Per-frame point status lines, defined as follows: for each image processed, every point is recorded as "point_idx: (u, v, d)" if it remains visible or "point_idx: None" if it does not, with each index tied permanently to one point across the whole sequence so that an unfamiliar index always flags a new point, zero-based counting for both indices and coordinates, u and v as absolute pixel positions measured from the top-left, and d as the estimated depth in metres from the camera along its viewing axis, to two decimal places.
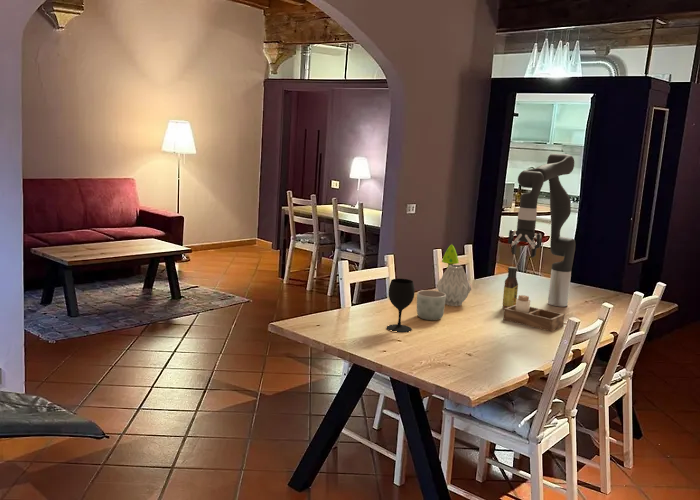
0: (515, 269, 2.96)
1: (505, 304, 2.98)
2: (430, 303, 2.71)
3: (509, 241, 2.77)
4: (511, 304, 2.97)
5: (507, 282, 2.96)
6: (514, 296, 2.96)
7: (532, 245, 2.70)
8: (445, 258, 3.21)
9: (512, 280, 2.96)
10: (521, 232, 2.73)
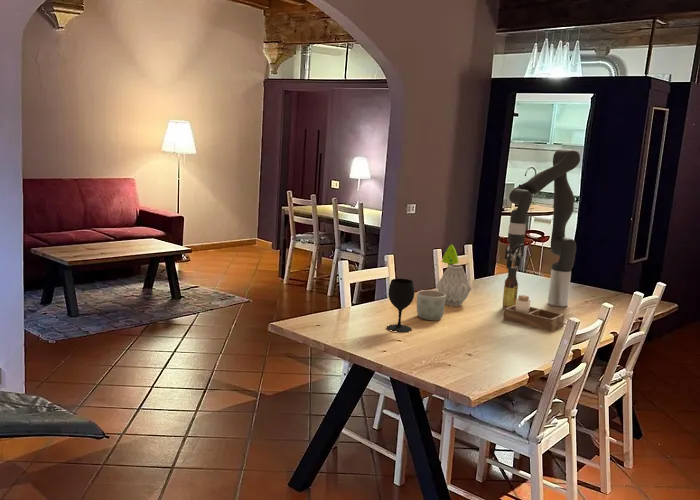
0: (515, 269, 2.96)
1: (505, 304, 2.98)
2: (430, 303, 2.71)
3: (510, 257, 2.90)
4: (511, 304, 2.97)
5: (507, 282, 2.96)
6: (514, 296, 2.96)
7: (520, 255, 2.98)
8: (445, 258, 3.21)
9: (512, 280, 2.96)
10: (516, 246, 2.93)
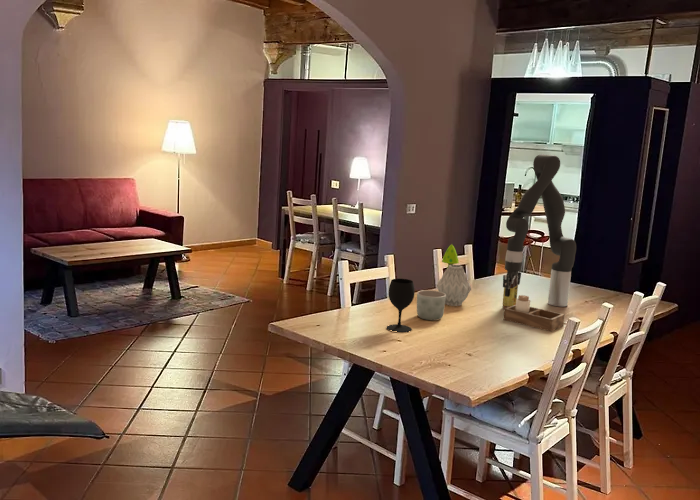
0: None
1: (505, 304, 2.98)
2: (430, 303, 2.71)
3: (508, 286, 2.93)
4: (511, 304, 2.97)
5: None
6: (514, 296, 2.96)
7: None
8: (445, 258, 3.21)
9: None
10: (513, 273, 2.96)
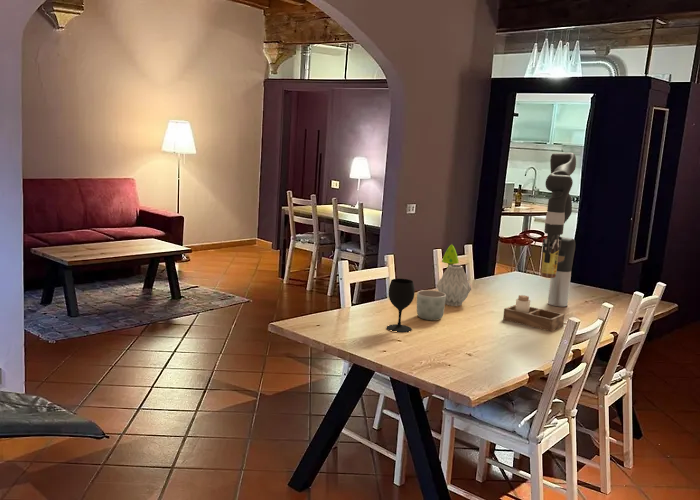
0: None
1: (544, 271, 2.70)
2: (430, 303, 2.71)
3: (548, 251, 2.65)
4: (551, 271, 2.69)
5: None
6: (554, 262, 2.69)
7: None
8: (445, 258, 3.21)
9: None
10: (554, 237, 2.68)
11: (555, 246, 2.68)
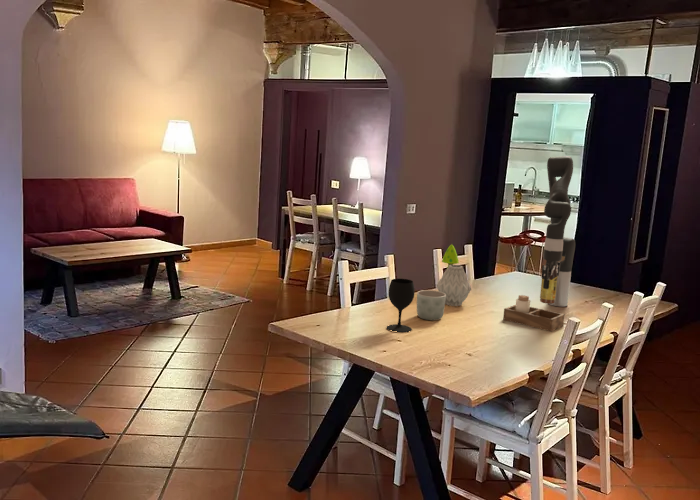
0: None
1: (543, 297, 2.71)
2: (430, 303, 2.71)
3: (547, 277, 2.67)
4: (550, 297, 2.70)
5: None
6: (553, 288, 2.70)
7: None
8: (445, 258, 3.21)
9: None
10: None
11: (554, 272, 2.70)
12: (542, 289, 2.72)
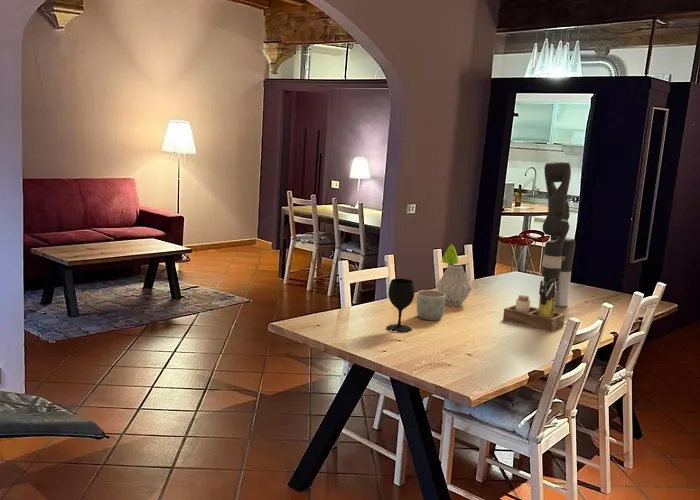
0: None
1: None
2: (430, 303, 2.71)
3: (545, 293, 2.67)
4: None
5: None
6: (551, 309, 2.72)
7: (555, 290, 2.75)
8: (445, 258, 3.21)
9: (548, 292, 2.71)
10: (551, 280, 2.70)
11: (551, 293, 2.71)
12: (540, 310, 2.73)
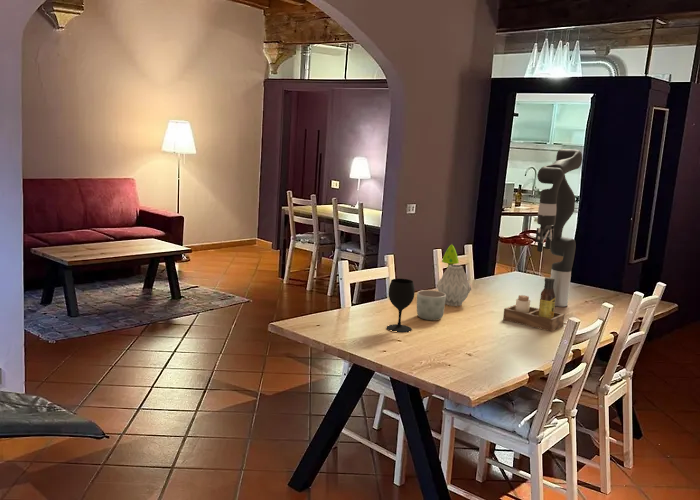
0: (553, 280, 2.71)
1: None
2: (430, 303, 2.71)
3: (541, 240, 2.74)
4: None
5: (544, 295, 2.72)
6: (551, 309, 2.72)
7: (551, 237, 2.82)
8: (445, 258, 3.21)
9: (549, 292, 2.71)
10: (546, 228, 2.77)
11: (552, 293, 2.71)
12: (540, 310, 2.73)
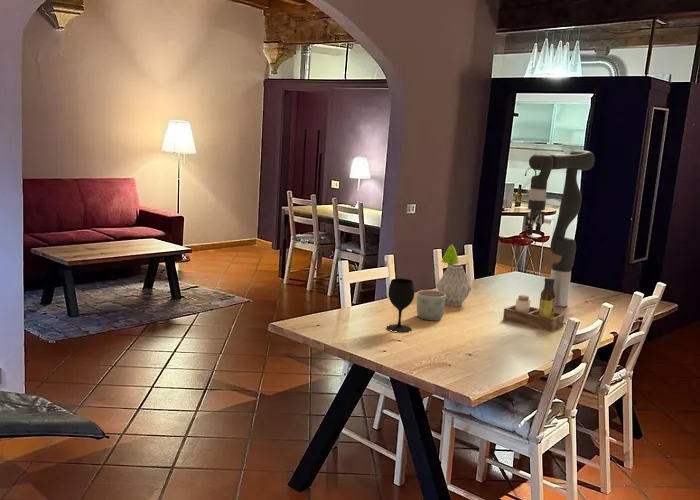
0: (553, 280, 2.71)
1: None
2: (430, 303, 2.71)
3: (531, 224, 2.85)
4: None
5: (544, 295, 2.72)
6: (551, 309, 2.72)
7: (541, 222, 2.93)
8: (445, 258, 3.21)
9: (549, 292, 2.71)
10: (536, 213, 2.88)
11: (552, 293, 2.71)
12: (540, 310, 2.73)
